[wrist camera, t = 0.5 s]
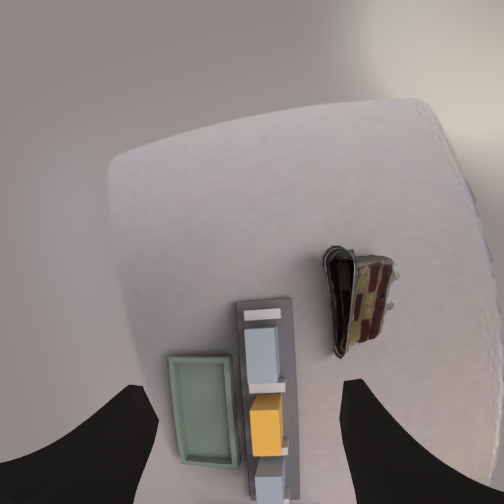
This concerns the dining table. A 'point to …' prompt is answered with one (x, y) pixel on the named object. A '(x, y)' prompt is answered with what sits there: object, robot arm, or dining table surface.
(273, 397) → the block
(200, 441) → the tray
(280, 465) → the block
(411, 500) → the robot arm
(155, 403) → the dining table surface
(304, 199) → the dining table surface
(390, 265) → the chocolate cake
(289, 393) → the block
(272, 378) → the block
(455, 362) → the dining table surface
